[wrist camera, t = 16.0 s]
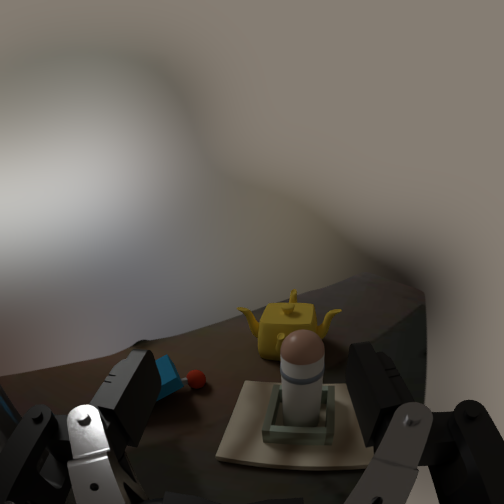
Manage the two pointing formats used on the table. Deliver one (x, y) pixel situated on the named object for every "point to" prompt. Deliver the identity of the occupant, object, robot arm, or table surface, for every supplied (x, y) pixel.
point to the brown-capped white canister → (302, 378)
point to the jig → (293, 432)
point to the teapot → (284, 324)
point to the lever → (176, 377)
